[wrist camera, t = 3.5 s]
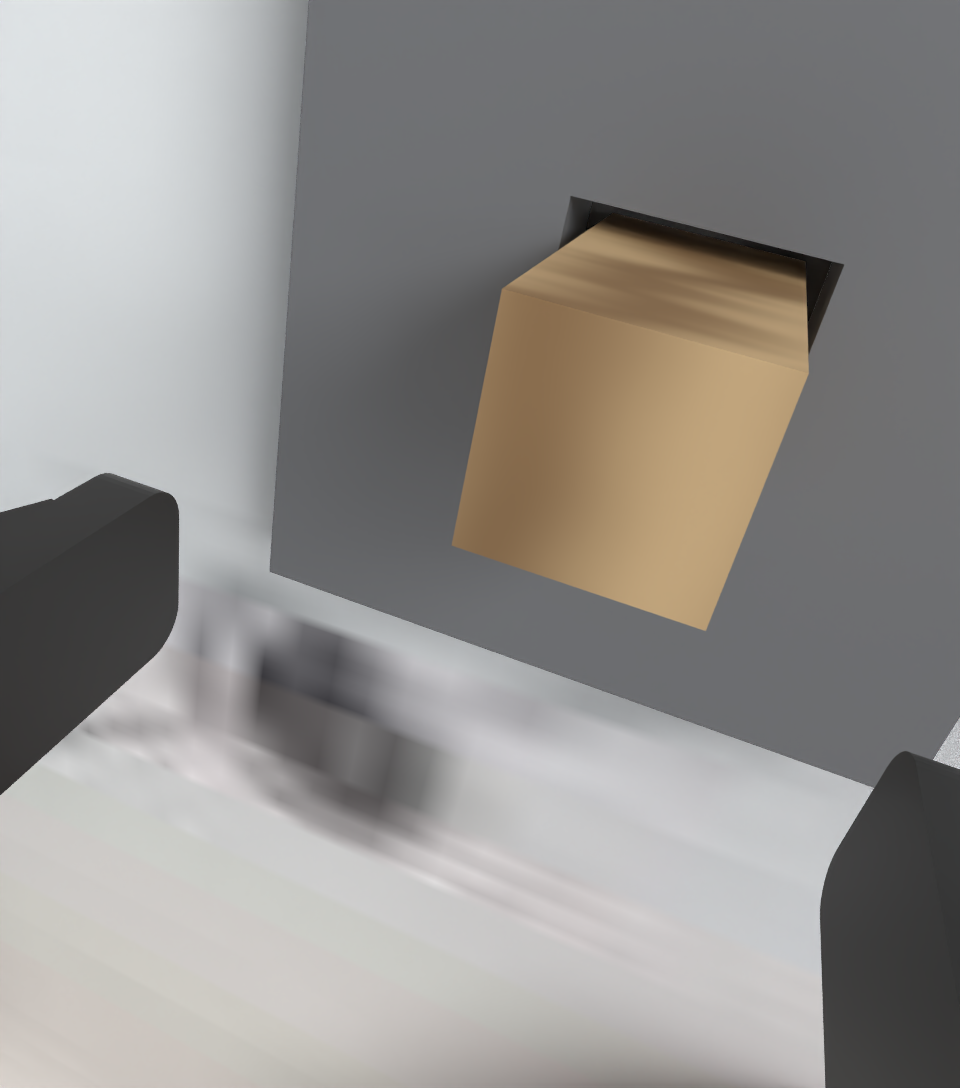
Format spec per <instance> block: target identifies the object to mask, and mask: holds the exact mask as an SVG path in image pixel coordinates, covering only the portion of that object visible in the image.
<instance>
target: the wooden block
mask: <svg viewBox="0 0 960 1088" xmlns="http://www.w3.org/2000/svg"><path fill="white" fill-rule="evenodd" d="M808 374H809V362H808V328H807V294H806V261H802V260H798V259H794V258H791V257H787V256H783V255H779V254H775V253H771V252H767V251H763V250H759V249H755V248H751V247H747V246H743V245H739V244H735V243H731V242H727V241H723V240H719V239H715V238H711V237H707V236H703V235H700V234H696V233H692V232H688V231H684V230H680V229H676V228H672V227H668V226H664V225H660V224H656V223H652V222H648V221H644V220H640V219H636V218H632V217H628V216H624V215H620V214H616V213H612V214H611V215H609V216H608V217H606V218H605V219H603V220H602V221H600V222H599V223H597V224H596V225H595V226H593V227H592V228H590V229H589V230H587V231H586V232H584V233H583V234H581V235H580V236H578V237H577V238H576V239H574V240H573V241H571V242H570V243H568V244H567V245H565V246H564V247H562V248H561V249H559V250H558V251H556V252H555V253H554V254H552V255H551V256H549V257H548V258H546V259H545V260H543V261H542V262H540V263H539V264H537V265H536V266H534V267H533V268H532V269H530V270H529V271H527V272H526V273H524V274H523V275H521V276H520V277H518V278H517V279H515V280H514V281H513V282H511V283H510V284H508V285H507V286H505V287H504V288H502V291H501V296H500V302H499V307H498V312H497V317H496V322H495V327H494V332H493V337H492V342H491V347H490V352H489V358H488V363H487V368H486V373H485V378H484V383H483V388H482V393H481V398H480V403H479V408H478V414H477V419H476V424H475V429H474V434H473V439H472V444H471V449H470V454H469V459H468V464H467V470H466V475H465V480H464V485H463V490H462V495H461V500H460V505H459V510H458V515H457V520H456V526H455V531H454V536H453V541H452V546H455V547H457V548H460V549H463V550H466V551H469V552H472V553H475V554H478V555H481V556H484V557H487V558H490V559H493V560H496V561H499V562H502V563H505V564H508V565H511V566H514V567H517V568H520V569H523V570H526V571H529V572H532V573H535V574H538V575H541V576H544V577H547V578H550V579H553V580H556V581H558V582H561V583H564V584H567V585H570V586H573V587H576V588H579V589H582V590H585V591H588V592H591V593H594V594H597V595H600V596H603V597H606V598H609V599H612V600H615V601H618V602H621V603H624V604H627V605H630V606H633V607H636V608H639V609H642V610H645V611H648V612H651V613H654V614H657V615H659V616H662V617H665V618H668V619H671V620H674V621H677V622H680V623H683V624H686V625H689V626H692V627H695V628H698V629H701V630H704V631H706V629H707V626H708V624H709V621H710V619H711V616H712V614H713V611H714V609H715V606H716V604H717V601H718V599H719V596H720V594H721V591H722V589H723V586H724V584H725V581H726V579H727V577H728V574H729V572H730V569H731V567H732V564H733V562H734V559H735V557H736V554H737V552H738V549H739V547H740V544H741V542H742V539H743V537H744V534H745V532H746V529H747V527H748V524H749V522H750V519H751V517H752V514H753V512H754V509H755V507H756V504H757V502H758V499H759V497H760V494H761V492H762V489H763V487H764V484H765V482H766V479H767V477H768V474H769V472H770V469H771V467H772V464H773V462H774V459H775V457H776V454H777V452H778V449H779V447H780V444H781V442H782V439H783V437H784V434H785V432H786V429H787V427H788V424H789V422H790V419H791V417H792V414H793V412H794V409H795V407H796V404H797V402H798V399H799V397H800V394H801V392H802V389H803V387H804V384H805V382H806V379H807V377H808Z"/></svg>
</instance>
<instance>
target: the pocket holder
mask: <svg viewBox="0 0 960 1088" xmlns="http://www.w3.org/2000/svg"><path fill="white" fill-rule="evenodd" d="M592 201H594V202H598V203H602V204H606V205H610V206H614V207H618V208H622V209H626V210H630V211H634V212H638V213H642V214H646V215H650V216H654V217H658V218H662V219H665V220H669V221H673V222H677V223H681V224H685V225H689V226H693V227H697V228H701V229H705V230H709V231H713V232H717V233H721V234H725V235H729V236H733V237H737V238H741V239H745V240H749V241H753V242H757V243H761V244H765V245H769V246H773V247H777V248H781V249H785V250H789V251H793V252H797V253H801V254H805V255H809V256H813V257H817V258H821V259H825V260H829V261H832V263H831V266H830V268H829V271H828V274H827V276H826V279H825V281H824V284H823V286H822V289H821V292H820V294H819V297H818V299H817V302H816V305H815V307H814V310H813V312H812V315H811V317H810V320H809V323H808V325H807V328H808V362H809V374H808V377H807V379H806V382H805V384H804V387H803V389H802V392H801V394H800V397H799V399H798V402H797V404H796V407H795V409H794V412H793V414H792V417H791V419H790V422H789V424H788V427H787V429H786V432H785V434H784V437H783V439H782V442H781V444H780V447H779V449H778V452H777V454H776V457H775V459H774V462H773V464H772V467H771V469H770V472H769V474H768V477H767V479H766V482H765V484H764V487H763V489H762V492H761V494H760V497H759V499H758V502H757V504H756V507H755V509H754V512H753V514H752V517H751V519H750V522H749V524H748V527H747V529H746V532H745V534H744V537H743V539H742V542H741V544H740V547H739V549H738V552H737V554H736V557H735V559H734V562H733V564H732V567H731V569H730V572H729V574H728V577H727V579H726V581H725V584H724V586H723V589H722V591H721V594H720V596H719V599H718V601H717V604H716V606H715V609H714V611H713V614H712V616H711V619H710V621H709V624H708V626H707V629H706V631H704V630H701V629H698V628H695V627H692V626H689V625H686V624H683V623H680V622H677V621H674V620H671V619H668V618H665V617H662V616H659V615H657V614H654V613H651V612H648V611H645V610H642V609H639V608H636V607H633V606H630V605H627V604H624V603H621V602H618V601H615V600H612V599H609V598H606V597H603V596H600V595H597V594H594V593H591V592H588V591H585V590H582V589H579V588H576V587H573V586H570V585H567V584H564V583H561V582H558V581H556V580H553V579H550V578H547V577H544V576H541V575H538V574H535V573H532V572H529V571H526V570H523V569H520V568H517V567H514V566H511V565H508V564H505V563H502V562H499V561H496V560H493V559H490V558H487V557H484V556H481V555H478V554H475V553H472V552H469V551H466V550H463V549H460V548H457V547H455V546H452V541H453V536H454V531H455V526H456V520H457V515H458V510H459V505H460V500H461V495H462V490H463V485H464V480H465V475H466V470H467V464H468V459H469V454H470V449H471V444H472V439H473V434H474V429H475V424H476V419H477V414H478V408H479V403H480V398H481V393H482V388H483V383H484V378H485V373H486V368H487V363H488V358H489V352H490V347H491V342H492V337H493V332H494V327H495V322H496V317H497V312H498V307H499V302H500V296H501V291H502V288H504V287H505V286H507V285H508V284H510V283H511V282H513V281H514V280H515V279H517V278H518V277H520V276H521V275H523V274H524V273H526V272H527V271H529V270H530V269H532V268H533V267H534V266H536V265H537V264H539V263H540V262H542V261H543V260H545V259H546V258H548V257H549V256H551V255H552V254H554V253H555V252H556V251H558V250H559V249H561V248H562V247H564V246H565V245H567V244H568V243H570V242H571V241H573V240H574V239H576V238H577V237H578V236H580V235H581V234H583V233H584V232H585V230H586V226H587V222H588V217H589V213H590V209H591V205H592ZM270 572H272V573H275V574H278V575H281V576H283V577H286V578H289V579H292V580H295V581H297V582H300V583H303V584H306V585H309V586H311V587H314V588H317V589H320V590H322V591H325V592H328V593H331V594H334V595H336V596H339V597H342V598H345V599H348V600H350V601H353V602H356V603H359V604H362V605H364V606H367V607H370V608H373V609H376V610H378V611H381V612H384V613H387V614H390V615H392V616H395V617H398V618H401V619H404V620H406V621H409V622H412V623H415V624H418V625H420V626H423V627H426V628H429V629H432V630H434V631H437V632H440V633H443V634H446V635H448V636H451V637H454V638H457V639H460V640H462V641H465V642H468V643H471V644H474V645H476V646H479V647H482V648H485V649H488V650H490V651H493V652H496V653H499V654H502V655H504V656H507V657H510V658H513V659H516V660H518V661H521V662H524V663H527V664H530V665H532V666H535V667H538V668H541V669H544V670H546V671H549V672H552V673H555V674H557V675H560V676H563V677H566V678H569V679H571V680H574V681H577V682H580V683H583V684H585V685H588V686H591V687H594V688H597V689H599V690H602V691H605V692H608V693H611V694H613V695H616V696H619V697H622V698H625V699H627V700H630V701H633V702H636V703H639V704H641V705H644V706H647V707H650V708H653V709H655V710H658V711H661V712H664V713H667V714H669V715H672V716H675V717H678V718H681V719H683V720H686V721H689V722H692V723H695V724H697V725H700V726H703V727H706V728H709V729H711V730H714V731H717V732H720V733H723V734H725V735H728V736H731V737H734V738H737V739H739V740H742V741H745V742H748V743H751V744H753V745H756V746H759V747H762V748H765V749H767V750H770V751H773V752H776V753H779V754H781V755H784V756H787V757H790V758H792V759H795V760H798V761H801V762H804V763H806V764H809V765H812V766H815V767H818V768H820V769H823V770H826V771H829V772H832V773H834V774H837V775H840V776H843V777H846V778H848V779H851V780H854V781H857V782H860V783H862V784H865V785H868V786H871V787H874V788H875V786H876V784H877V783H878V781H879V779H880V778H881V776H882V775H883V773H884V771H885V770H886V768H887V766H888V765H889V763H890V762H891V761H892V760H893V758H894V757H895V756H896V755H898V754H899V753H901V752H903V751H908V752H911V753H913V754H916V755H919V756H922V757H925V758H928V759H931V760H933V758H934V757H935V755H936V754H937V752H938V750H939V749H940V747H941V746H942V744H943V742H944V741H945V739H946V738H947V736H948V735H949V733H950V731H951V730H952V728H953V727H954V725H955V723H956V722H957V720H958V719H959V717H960V0H309V7H308V22H307V36H306V51H305V65H304V80H303V94H302V109H301V123H300V138H299V152H298V167H297V181H296V196H295V210H294V225H293V239H292V254H291V268H290V283H289V297H288V312H287V326H286V341H285V355H284V370H283V384H282V399H281V413H280V427H279V442H278V456H277V471H276V485H275V500H274V514H273V529H272V543H271V558H270Z"/></svg>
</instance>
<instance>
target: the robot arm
mask: <svg viewBox="0 0 960 1088" xmlns="http://www.w3.org/2000/svg"><path fill="white" fill-rule="evenodd" d="M178 585H179V510H178V505H177V503H176V500H175V499H174V497H173V496H172V495H171V494H169V493H166V492H163V491H160V490H157V489H155V488H152V487H149V486H146V485H143V484H140V483H137V482H134V481H131V480H129V479H126V478H123V477H120V476H117V475H114V474H111V473H104V474H100V475H98V476H96V477H94V478H92V479H90V480H89V481H87V482H85V483H83V484H82V485H80V486H78V487H76V488H74V489H73V490H71V491H69V492H67V493H66V494H64V495H62V496H60V497H59V498H57V499H55V500H52V499H49V500H45V501H41V502H38V503H34V504H30V505H26V506H23V507H19V508H15V509H12V510H8V511H4V512H0V795H1V794H2V793H3V792H4V791H6V790H7V789H8V788H9V787H10V786H11V785H12V784H13V783H14V782H16V781H17V780H18V779H19V778H20V777H21V776H22V775H23V774H24V773H26V772H27V771H28V770H29V769H30V768H31V767H32V766H33V765H34V764H35V763H37V762H38V761H39V760H40V759H41V758H42V757H43V756H44V755H45V754H47V753H48V752H49V751H50V750H51V749H52V748H53V747H54V746H55V745H57V744H58V743H59V742H60V741H61V740H62V739H63V738H64V737H65V736H67V735H68V734H69V733H70V732H71V731H72V730H73V729H74V728H75V727H77V726H78V725H79V724H80V723H81V722H82V721H83V720H84V719H85V718H87V717H88V716H89V715H90V714H91V713H92V712H93V711H94V710H95V709H97V708H98V707H99V706H100V705H101V704H102V703H103V702H104V701H105V700H107V699H108V698H109V697H110V696H111V695H112V694H113V693H114V692H115V691H116V690H118V689H119V688H120V687H121V686H122V685H123V684H124V683H125V682H126V681H128V680H129V679H130V678H131V677H132V676H133V675H134V674H135V673H136V672H138V671H139V670H140V669H141V668H142V667H143V666H144V665H145V664H146V663H148V662H149V661H150V660H151V659H152V658H153V657H154V656H155V655H156V654H157V653H158V652H159V651H160V649H161V648H162V647H163V645H164V644H165V642H166V640H167V639H168V637H169V635H170V633H171V631H172V628H173V626H174V623H175V620H176V616H177V611H178ZM820 929H821V961H822V992H823V1023H824V1054H825V1086H826V1088H960V769H957V768H954V767H951V766H948V765H945V764H942V763H939V762H937V761H934V760H931V759H928V758H925V757H922V756H919V755H916V754H913V753H911V752H908V751H903V752H901V753H899V754H898V755H896V756H895V757H894V758H893V760H892V761H891V762H890V763H889V765H888V766H887V768H886V770H885V771H884V773H883V775H882V776H881V778H880V779H879V781H878V783H877V784H876V786H875V788H874V789H873V791H872V793H871V794H870V796H869V798H868V799H867V801H866V803H865V804H864V806H863V807H862V809H861V811H860V812H859V814H858V816H857V817H856V819H855V821H854V822H853V824H852V826H851V827H850V829H849V831H848V832H847V834H846V835H845V837H844V839H843V840H842V842H841V844H840V845H839V847H838V849H837V850H836V852H835V854H834V856H833V858H832V861H831V863H830V866H829V868H828V872H827V875H826V878H825V882H824V886H823V891H822V897H821V906H820Z"/></svg>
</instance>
